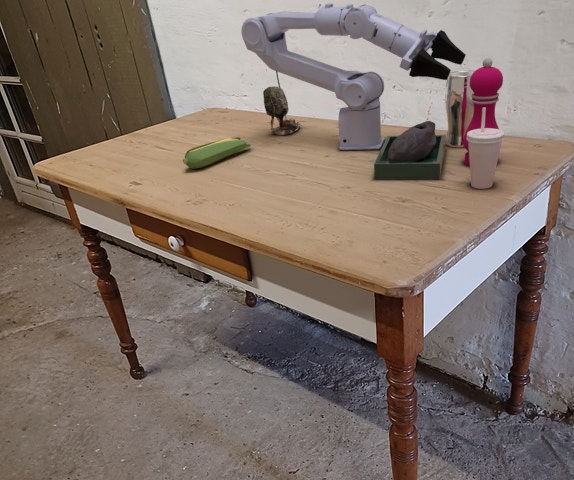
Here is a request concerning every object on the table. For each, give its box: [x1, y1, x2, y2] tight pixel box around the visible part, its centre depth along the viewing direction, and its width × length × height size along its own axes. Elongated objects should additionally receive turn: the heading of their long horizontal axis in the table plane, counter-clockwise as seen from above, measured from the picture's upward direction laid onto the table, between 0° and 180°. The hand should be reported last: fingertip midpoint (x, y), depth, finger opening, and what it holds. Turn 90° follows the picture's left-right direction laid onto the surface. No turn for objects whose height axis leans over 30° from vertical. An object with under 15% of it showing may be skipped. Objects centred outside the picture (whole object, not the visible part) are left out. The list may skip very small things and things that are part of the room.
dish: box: [373, 134, 447, 180], centre depth 119 cm, size 13×19×3 cm, turn 164°
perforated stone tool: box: [388, 120, 437, 163], centre depth 118 cm, size 15×5×7 cm, turn 132°
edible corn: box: [182, 136, 252, 170], centre depth 134 cm, size 5×20×5 cm, turn 135°
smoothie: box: [466, 107, 505, 190], centre depth 102 cm, size 6×6×14 cm
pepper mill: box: [463, 57, 504, 167], centre depth 111 cm, size 7×7×20 cm
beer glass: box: [444, 69, 475, 148], centre depth 124 cm, size 7×7×15 cm
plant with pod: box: [262, 71, 303, 136], centre depth 147 cm, size 8×11×20 cm
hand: (456, 67), depth 115 cm, fingers open, 7 cm apart
